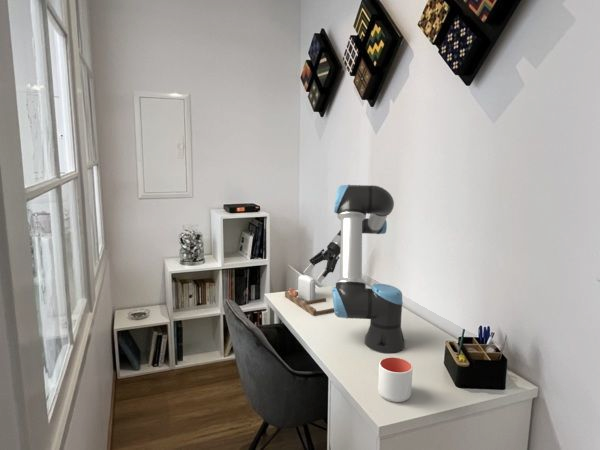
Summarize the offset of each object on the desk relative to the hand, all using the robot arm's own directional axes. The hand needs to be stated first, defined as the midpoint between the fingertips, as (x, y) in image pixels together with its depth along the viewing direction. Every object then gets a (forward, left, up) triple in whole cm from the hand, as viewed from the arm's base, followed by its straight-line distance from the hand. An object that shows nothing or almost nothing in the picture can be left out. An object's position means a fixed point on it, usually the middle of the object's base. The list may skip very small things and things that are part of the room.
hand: (311, 277), depth 218 cm
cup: (-88, +21, -11) cm, 92 cm away
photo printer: (-1, +3, -11) cm, 11 cm away
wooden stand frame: (-7, +3, -11) cm, 13 cm away
